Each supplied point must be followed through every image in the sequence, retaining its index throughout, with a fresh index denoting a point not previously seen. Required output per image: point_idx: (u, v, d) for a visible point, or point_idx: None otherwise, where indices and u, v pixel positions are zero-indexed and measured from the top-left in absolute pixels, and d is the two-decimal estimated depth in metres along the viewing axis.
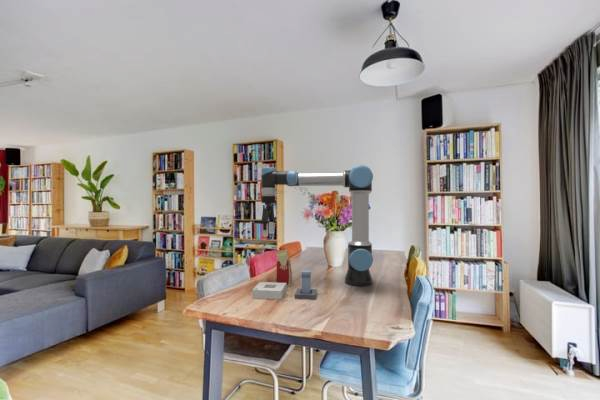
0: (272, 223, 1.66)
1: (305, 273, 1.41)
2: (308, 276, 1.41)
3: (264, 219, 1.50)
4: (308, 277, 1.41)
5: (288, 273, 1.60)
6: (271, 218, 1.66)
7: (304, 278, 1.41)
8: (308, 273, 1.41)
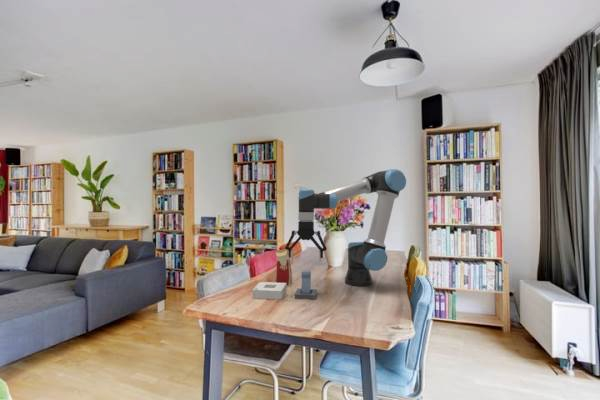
0: None
1: (305, 273, 1.41)
2: (308, 276, 1.41)
3: (286, 245, 1.44)
4: (308, 277, 1.41)
5: (288, 273, 1.60)
6: None
7: (304, 278, 1.41)
8: (308, 273, 1.41)
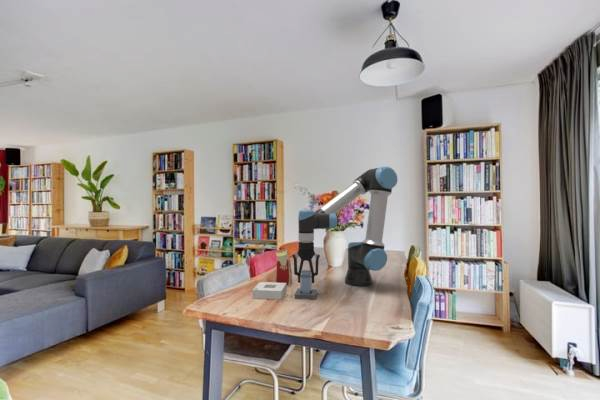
0: (310, 278, 1.42)
1: (305, 273, 1.41)
2: (308, 276, 1.41)
3: None
4: (308, 277, 1.41)
5: (288, 273, 1.60)
6: None
7: (304, 278, 1.41)
8: (308, 273, 1.41)
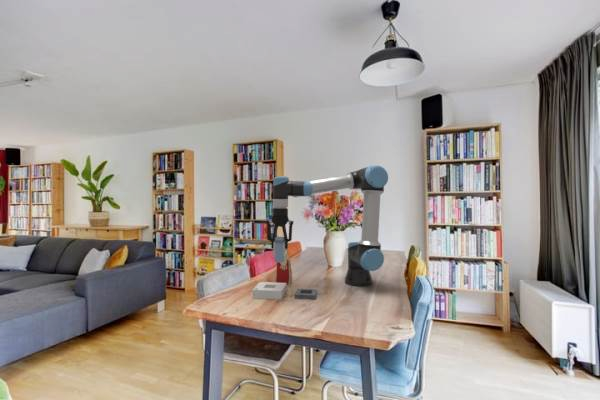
0: None
1: (278, 238, 1.43)
2: (281, 241, 1.43)
3: None
4: (281, 242, 1.43)
5: (288, 273, 1.60)
6: None
7: (277, 243, 1.43)
8: (281, 238, 1.43)
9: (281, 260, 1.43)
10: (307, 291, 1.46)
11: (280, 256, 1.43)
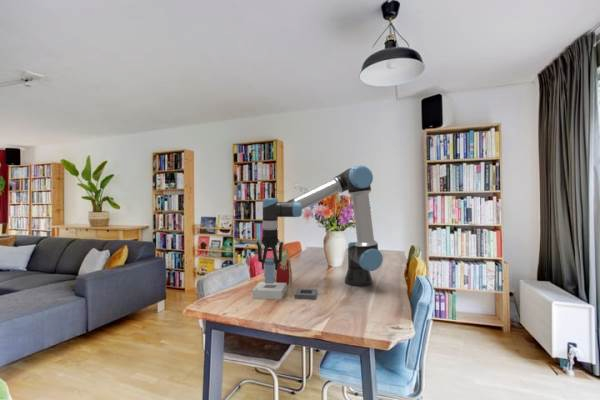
0: (273, 265, 1.45)
1: (268, 260, 1.44)
2: (271, 263, 1.43)
3: None
4: (271, 264, 1.43)
5: (288, 273, 1.60)
6: None
7: (267, 265, 1.44)
8: (271, 260, 1.43)
9: (271, 281, 1.43)
10: (307, 291, 1.46)
11: (270, 277, 1.43)
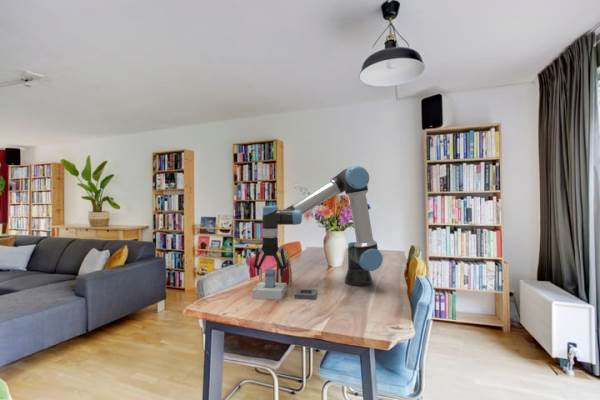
0: None
1: (268, 272, 1.44)
2: (271, 275, 1.43)
3: None
4: (271, 276, 1.43)
5: (288, 273, 1.60)
6: None
7: (267, 277, 1.44)
8: (271, 272, 1.43)
9: None
10: (307, 291, 1.46)
11: None
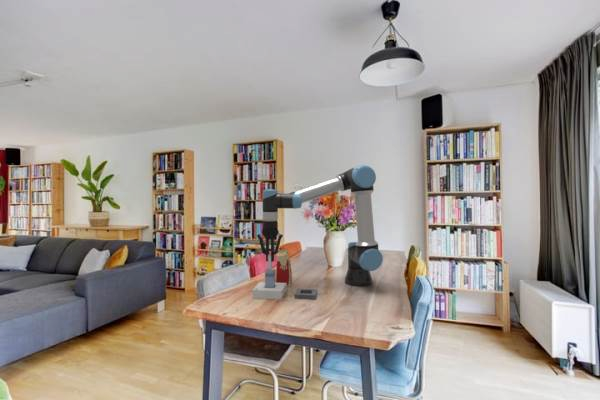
0: None
1: (268, 272, 1.44)
2: (271, 275, 1.43)
3: None
4: (271, 276, 1.43)
5: (288, 273, 1.60)
6: None
7: (267, 277, 1.44)
8: (271, 272, 1.43)
9: None
10: (307, 291, 1.46)
11: None
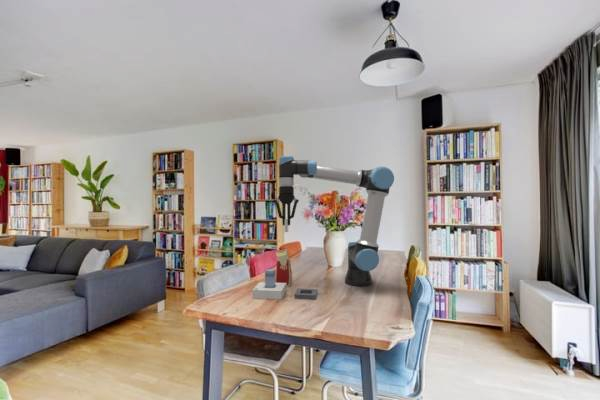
0: None
1: (268, 272, 1.44)
2: (271, 275, 1.43)
3: None
4: (271, 276, 1.43)
5: (288, 273, 1.60)
6: None
7: (267, 277, 1.44)
8: (271, 272, 1.43)
9: None
10: (307, 291, 1.46)
11: None
